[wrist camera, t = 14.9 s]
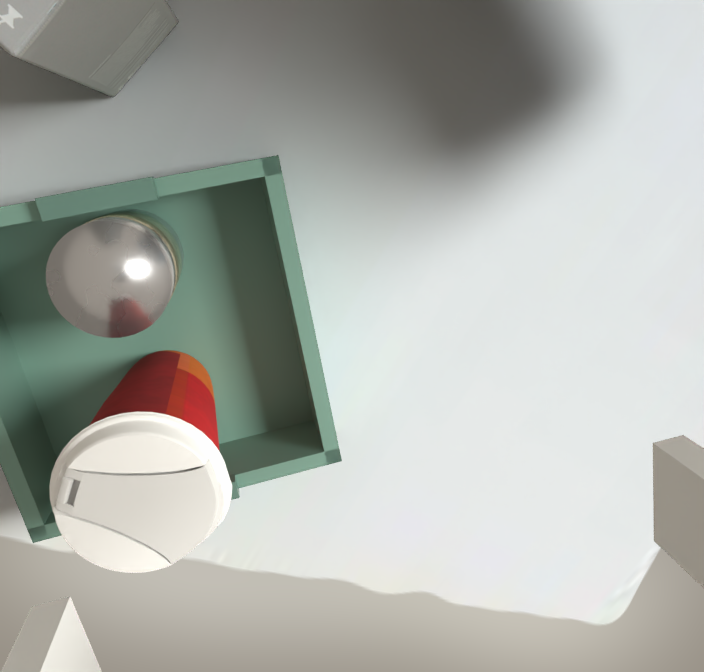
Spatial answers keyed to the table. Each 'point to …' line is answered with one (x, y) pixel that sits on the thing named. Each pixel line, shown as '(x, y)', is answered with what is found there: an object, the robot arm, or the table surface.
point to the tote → (167, 329)
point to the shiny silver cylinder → (115, 273)
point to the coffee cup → (144, 470)
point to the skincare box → (86, 37)
